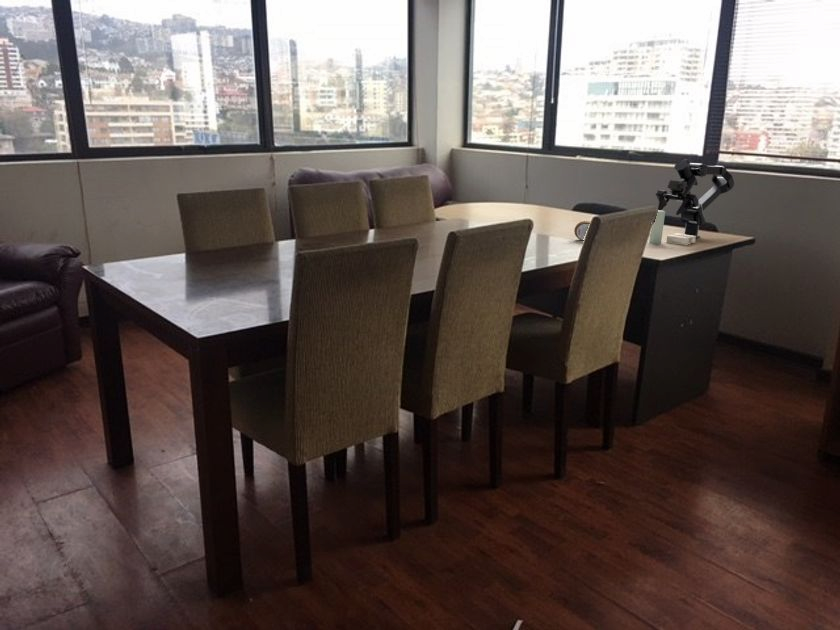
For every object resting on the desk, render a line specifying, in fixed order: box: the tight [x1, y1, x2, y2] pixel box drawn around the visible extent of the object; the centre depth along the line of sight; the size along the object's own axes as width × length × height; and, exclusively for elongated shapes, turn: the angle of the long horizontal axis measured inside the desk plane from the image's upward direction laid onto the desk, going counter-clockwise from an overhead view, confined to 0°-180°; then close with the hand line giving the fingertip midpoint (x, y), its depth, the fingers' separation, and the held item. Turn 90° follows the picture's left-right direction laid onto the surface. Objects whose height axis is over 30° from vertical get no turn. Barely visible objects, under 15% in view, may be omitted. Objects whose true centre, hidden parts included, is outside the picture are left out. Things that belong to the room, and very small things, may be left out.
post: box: [648, 209, 666, 245], centre depth 299 cm, size 5×5×14 cm
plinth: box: [666, 232, 697, 246], centre depth 303 cm, size 9×9×3 cm
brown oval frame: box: [574, 220, 591, 241], centre depth 301 cm, size 15×3×8 cm, turn 84°
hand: (667, 212), depth 301 cm, fingers open, 9 cm apart
